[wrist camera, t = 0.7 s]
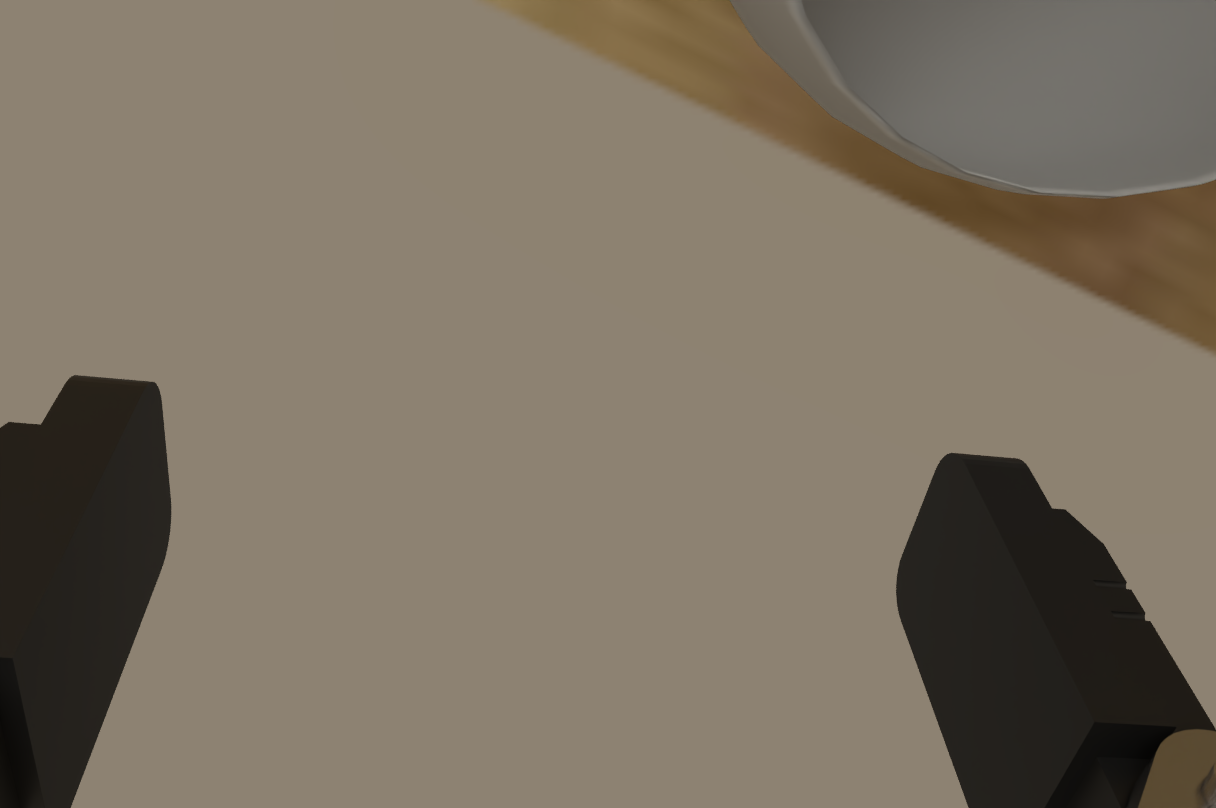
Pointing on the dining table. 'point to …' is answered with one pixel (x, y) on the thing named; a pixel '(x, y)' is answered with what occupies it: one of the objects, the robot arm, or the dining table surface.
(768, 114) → the dining table surface
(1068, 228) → the dining table surface
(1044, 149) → the chalice
